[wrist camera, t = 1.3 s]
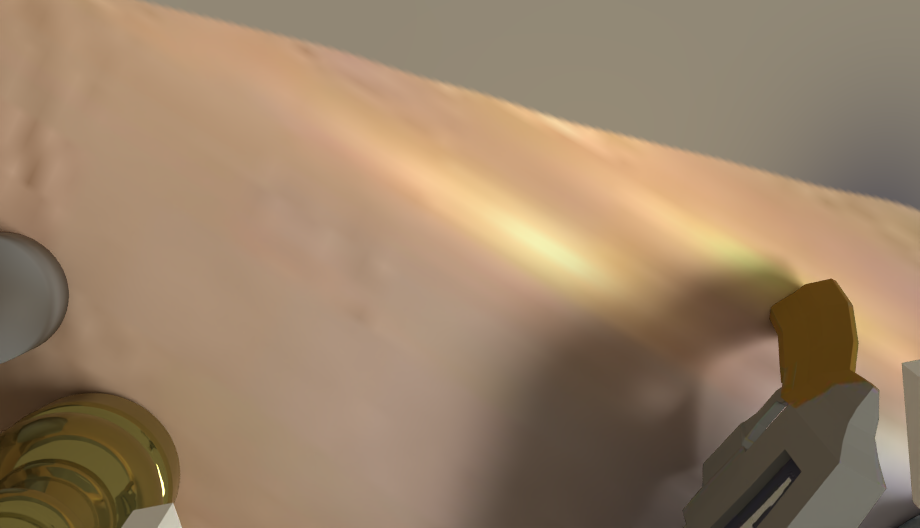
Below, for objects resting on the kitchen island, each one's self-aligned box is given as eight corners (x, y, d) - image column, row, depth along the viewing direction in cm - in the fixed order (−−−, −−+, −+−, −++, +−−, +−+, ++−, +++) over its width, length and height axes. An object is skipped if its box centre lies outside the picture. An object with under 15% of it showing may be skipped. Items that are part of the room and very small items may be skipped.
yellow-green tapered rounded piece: (206, 521, 37) (150, 642, 27) (41, 578, 36) (-79, 723, 27) (149, 366, 36) (69, 433, 26) (-21, 422, 36) (-170, 512, 26)
